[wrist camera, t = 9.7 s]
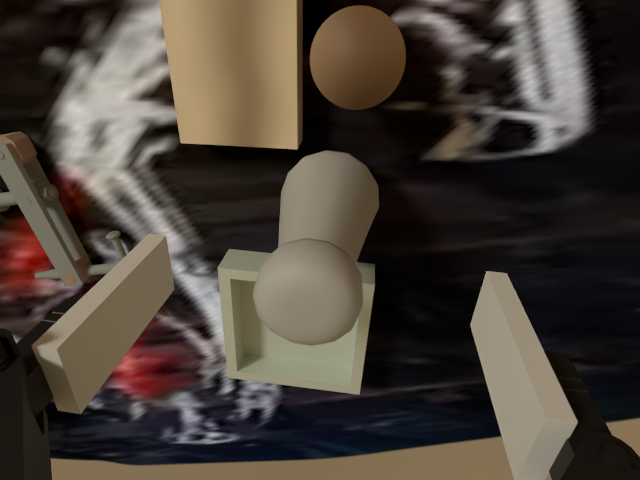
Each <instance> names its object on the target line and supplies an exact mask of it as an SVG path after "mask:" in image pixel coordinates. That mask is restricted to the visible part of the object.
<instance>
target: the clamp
mask: <svg viewBox="0 0 640 480" xmlns="http://www.w3.org/2000/svg"><path fill="white" fill-rule="evenodd" d="M36 155H37V152H36V150H35V148H34V146H33V144H32V142H31V140H30V139H29V137H28V136H27V135H25V134H24V133H22V132H21V131H20V132H14V133H9V134H3V135H0V174H1V176H2V178H3V180H4V181H5V183H6V185H7V187H8V188H9V190H10V192H4V193H3V192H2V190H1V189H0V212H2V211H6V210H8V209H9V207H10V206H11V205H18V206H19V207H20V209H21V211H22V212H23V214H24V216H25V218H26V219H27V221H28V223H29V224H30V226H31V228H32V230H33V231H34V233H35V235H36V237H37V238H38V240H39V242H40V243H41V245H42V247H43V249H44V250H45V252H46V254H47V256H48V257H49V259H50V261H51V262H52V264H53V266H54V268H55V269H51V270H49V271H46V272H38V273H35V278H36V279H43V278H47V279H60V278H61V280H62V281H63V283H64V285H65V286H79V285H82V284H83V283H85V282H86V280H87V279H88V278H89V277H90V276H91V275H100V274H107V273H108V272H109V271H110V270H111V269H112V268H114V267H115V266H116V265H117V264H118V263H119V262H120V261H121V260H122V259H123V258H124V257H125V256H126V252H125V250H124V248H123V246H122V244H121V241H120V239H119V236H120V232H119V231H113V232H110V233H109V234H107V236H106V238H107V239H109V240H112V243H113V245H114V247H115V249H116V251H117V253H118V256H119V258H120V259H117V260H116V261H115V263H108V264H99V265H92V263H91V261H90V259H89V257H88V255H87V253H86V251H85V249H84V248H83V246H82V244H81V242H80V240H79V238H78V236H77V234H76V232H75V230H74V228H73V227H72V225H71V223H70V221H69V219H68V217H67V215H66V213H65V211H64V209H63V207H62V206H61V204H60V202H59V200H58V196H59V193H58V189H57V188H56V187H55V186H54V185H52V184H50V183H49V181H48V179H47V177H46V175H45V173H44V171H43V169H42V167H41V165H40V164H39V162H38V160H37V158H36Z"/></svg>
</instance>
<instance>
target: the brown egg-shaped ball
mask: <svg viewBox="0 0 640 480" xmlns="http://www.w3.org/2000/svg"><path fill="white" fill-rule="evenodd" d="M405 63H406V49H405V43H404V40H403V37H402V34H401V32H400V30H399V28H398V27H397V25H396V24H395V23H394V21H393V20H392V19H391V18H390V17H389V16H387V15H386V14H385V13H383V12H382V11H380V10H378V9H375V8H372V7H369V6H351V7H347V8H344V9H341V10H339V11H337V12H335V13H334V14H332V15H331V16H330V17H329V18H328V19H326V20H325V22H324V23H323V24H322V25H321V26H320V28H319V30H318V31H317V33H316V35H315V37H314V40H313V43H312V46H311V51H310V67H311V73H312V76H313V79H314V81H315V84H316V86H317V87H318V89H319V90H320V92H321V93H322V94H323V95H324V96H325V97H326V98H327V99H328V100H329V101H330V102H332V103H334V104H335V105H337V106H340V107H342V108H346V109H351V110H362V109H367V108H371V107H373V106H376V105H378V104H379V103H381V102H383V101H384V100H385V99H387V98H388V97H389V96H390V95H391V94H392V93H393V91H394V90H395V89H396V87H397V86H398V84H399V82H400V80H401V78H402V75H403V72H404V68H405Z"/></svg>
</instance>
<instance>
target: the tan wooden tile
mask: <svg viewBox="0 0 640 480" xmlns="http://www.w3.org/2000/svg"><path fill="white" fill-rule="evenodd" d="M159 3H160V9H161V16H162V23H163V29H164V36H165V42H166V49H167V56H168V62H169V69H170V76H171V82H172V89H173V95H174V102H175V109H176V115H177V122H178V128H179V135H180V142H181V143H190V144H208V145H226V146H244V147H262V148H280V149H298V148H299V146H300V144H301V142H302V140H303V0H159Z"/></svg>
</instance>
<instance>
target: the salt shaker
mask: <svg viewBox="0 0 640 480" xmlns="http://www.w3.org/2000/svg"><path fill="white" fill-rule="evenodd" d="M378 208H379V194H378V185H377V183H376V181H375V179H374V178H373V176H372V174H371V173H370V171H369V169H368V168H367V166H366V165H365V164H363V163H362V162H360V161H359V160H357V159H356V158H354V157H353V156H351V155H350V154H348V153H343V152H334V151H322V152H319V153H316V154H312V155H309V156H305V157H304V158H302V159H301V160H300V162H299V163H298V164H297V165H296V166H295V167H294V168H293V169H292V170H291V171H290V172H289V173H288V175H287V177H286V180H285V183H284V186H283V189H282V192H281V207H280V225H279V244H278V248H277V249H276V250H275V251H274V252H273V253H272V254H271V255H270V256H268V257H267V258H266V259H265V261H264V263H263V264H262V266H261V268H260V271H259V274H258V277H257V280H256V283H255V286H254V292H253V299H254V303H255V307H256V311H257V315H258V316H259V318H260V319H261V320H262V321H263V322H264V324H265V325H266V326H267V327H268V329H269V330H270V331H271V332H273V333H275V334H277V335H278V336H280V337H282V338H284V339H286V340H288V341H290V342H292V343H297V344H303V345H308V346H314V345H320V344H325V343H330V342H334V341H336V340H338V339H339V338H341V337H342V336H344V335H345V334H347V333H348V332H350V331H351V330H352V328H353V326H354V324H355V322H356V320H357V318H358V316H359V314H360V311H361V308H362V305H363V289H362V274H361V272H360V271H359V269H358V268H357V266H356V265H355V264H356V262H357V259H358V257H359V254H360V251H361V249H362V246H363V244H364V241H365V239H366V236H367V233H368V231H369V229H370V226H371V224H372V222H373V220H374V217H375V215H376V213H377V211H378Z"/></svg>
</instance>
